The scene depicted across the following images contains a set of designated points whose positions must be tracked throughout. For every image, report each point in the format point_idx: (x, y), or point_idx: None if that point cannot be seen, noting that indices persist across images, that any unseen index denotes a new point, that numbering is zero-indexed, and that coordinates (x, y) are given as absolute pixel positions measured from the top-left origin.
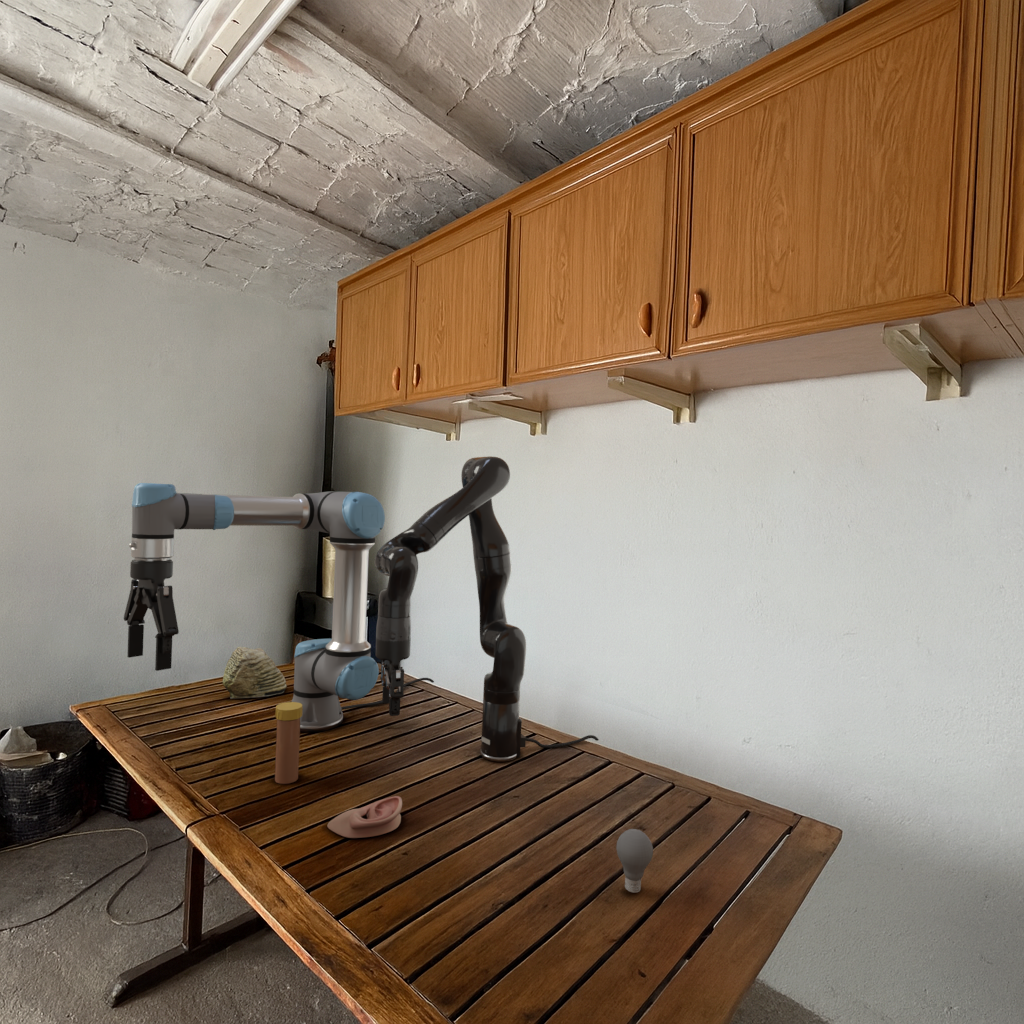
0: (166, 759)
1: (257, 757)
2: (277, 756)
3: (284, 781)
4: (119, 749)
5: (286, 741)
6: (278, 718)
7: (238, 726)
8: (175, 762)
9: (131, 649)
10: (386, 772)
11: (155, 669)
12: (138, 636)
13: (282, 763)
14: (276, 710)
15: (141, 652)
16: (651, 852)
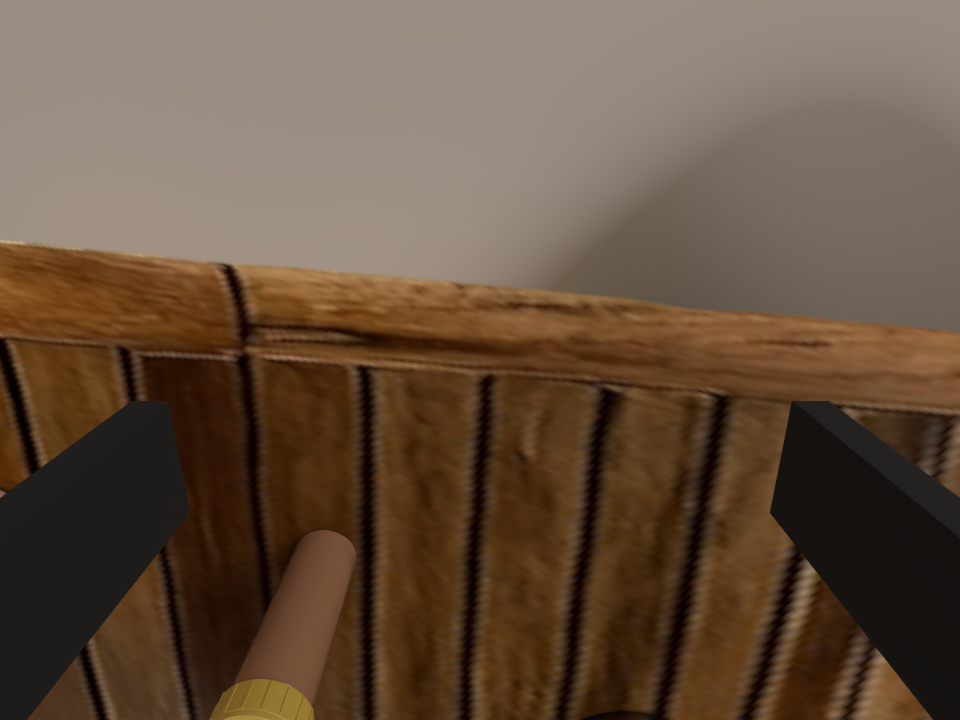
0: (706, 401)
1: (514, 571)
2: (302, 580)
3: (299, 542)
4: (910, 333)
5: (258, 630)
6: (252, 682)
7: (771, 638)
8: (662, 410)
9: (831, 460)
10: (200, 715)
11: (158, 403)
12: (912, 622)
13: (289, 572)
14: (260, 707)
15: (788, 520)
16: None
